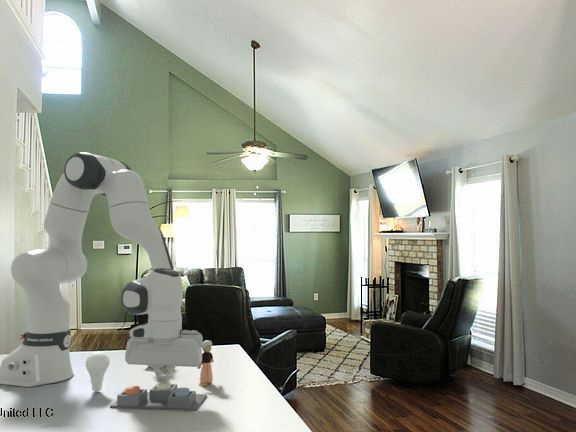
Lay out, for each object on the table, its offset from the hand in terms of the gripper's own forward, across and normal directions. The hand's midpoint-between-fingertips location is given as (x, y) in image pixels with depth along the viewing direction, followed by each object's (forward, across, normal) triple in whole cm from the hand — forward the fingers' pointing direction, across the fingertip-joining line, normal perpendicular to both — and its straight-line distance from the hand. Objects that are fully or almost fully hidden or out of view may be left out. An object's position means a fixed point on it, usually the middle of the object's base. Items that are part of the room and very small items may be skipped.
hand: (163, 381), depth 125 cm
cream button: (+3, 0, 0) cm, 3 cm away
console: (+4, 0, +2) cm, 5 cm away
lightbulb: (+5, +20, -3) cm, 21 cm away
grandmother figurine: (+4, -8, -14) cm, 17 cm away
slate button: (+3, -7, +5) cm, 9 cm away
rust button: (+3, +6, +5) cm, 9 cm away
